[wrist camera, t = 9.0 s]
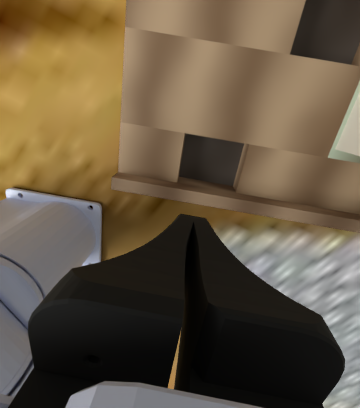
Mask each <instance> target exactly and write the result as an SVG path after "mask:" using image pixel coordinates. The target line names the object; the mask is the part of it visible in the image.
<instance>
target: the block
mask: <svg viewBox="0 0 360 408" xmlns="http://www.w3.org/2000/svg"><path fill="white" fill-rule="evenodd" d="M335 149H336V150H339V151H343V152H346V153H350V154H354V155H357V156H360V92H359V94H358V97H357V99H356V101H355V104H354V106H353V108H352V111H351V113H350V116H349V118H348V120H347V123H346V125H345V127H344V130H343V132H342V134H341V137H340V139H339V141H338V144H337V146H336V148H335Z"/></svg>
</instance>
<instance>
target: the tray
mask: <svg viewBox="0 0 360 408" xmlns="http://www.w3.org/2000/svg"><path fill="white" fill-rule="evenodd" d="M359 92H360V0H126V20H125V41H124V62H123V82H122V103H121V124H120V144H119V165H118V173H117V174H115V175H114V176H113V177H112V183H111V189H113V190H119V191H124V192H130V193H136V194H141V195H147V196H153V197H158V198H164V199H170V200H176V201H181V202H187V203H193V204H198V205H204V206H210V207H215V208H221V209H227V210H233V211H238V212H244V213H250V214H255V215H261V216H267V217H272V218H278V219H284V220H290V221H295V222H301V223H307V224H312V225H318V226H324V227H329V228H335V229H341V230H347V231H352V232H358V233H360V156H357V155H354V154H350V153H346V152H343V151H339V150H336V149H335V148H336V146H337V144H338V141H339V139H340V137H341V134H342V132H343V130H344V127H345V125H346V123H347V120H348V118H349V116H350V113H351V111H352V108H353V106H354V104H355V101H356V99H357V97H358V94H359Z"/></svg>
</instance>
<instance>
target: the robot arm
mask: <svg viewBox="0 0 360 408" xmlns="http://www.w3.org/2000/svg"><path fill="white" fill-rule="evenodd" d="M21 194H22V195H23V196H22V195H21ZM6 197H7V198H6V199H4V200H2V201H0V408H324V407H323V404H322V403H323V402H324V400H325V399H326V398H327V396H328V395H329V394H330V392H331V391H332V390H333V388H334V387H335V386H336V384H337V383H338V381H339V380H340V378H341V376H342V374H343V372H344V368H345V358H344V356H343V353H342V351H341V349H340V347H339V345H338V344H337V342H336V340H335V338H334V337H333V335H332V333H331V331H330V330H329V328H328V326H327V324H326V323H325V321H324V319H323V318H322V316H321V315H319V314H317V313H315V312H314V311H312V310H310V309H308V308H306V307H305V306H303V305H301V304H299V303H297V302H296V301H294V300H292V299H290V298H289V297H287V296H285V295H284V294H282V293H281V292H279V291H278V290H276V289H274V288H273V287H271V286H270V285H269V284H267V283H266V282H264V281H263V280H262V279H260V278H259V277H258V276H256V275H255V274H254V273H253V272H251V271H250V270H249V269H248V268H247V267H245V266H244V265H243V264H242V263H241V262H240V261H239V260H238V259H237V258H236V257H235V256H234V255H233V254H232V253H231V252H230V251H229V250H228V249H227V247H226V246H225V245H224V244H223V243H222V241H221V240H220V239H219V237H218V236H217V235H216V233H215V232H214V230H213V229H212V227H211V225H210V224H209V222H208V221H207V219H206V218H201V217H195V216H190V215H184V214H180V215H178V217H177V218H176V219H175V221H174V222H173V223H172V224H171V225H170V226H169V227H168V228H167V229H165V230H164V231H163V232H162V233H161V234H159V235H158V236H157V237H155V238H154V239H153V240H151V241H150V242H148V243H147V244H145V245H143V246H141V247H139V248H137V249H135V250H133V251H131V252H128V253H126V254H124V255H121V256H118V257H115V258H112V259H109V260H106V261H102V262H101V233H102V206H101V205H100V204H99V203H96V202H91V201H85V200H79V199H74V198H68V197H62V196H57V195H51V194H45V193H40V192H34V191H28V190H23V189H17V188H9V189H7V190H6ZM90 205H91V206H92V207H93V209H92V208H90ZM90 263H91V264H90ZM181 327H182V328H181ZM180 331H181V337H180V345H179V353H178V362H177V370H176V378H175V386H174V390H173V389H168V388H167V387H168V383H169V379H170V374H171V370H172V366H173V361H174V357H175V353H176V348H177V344H178V340H179V335H180Z"/></svg>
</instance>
